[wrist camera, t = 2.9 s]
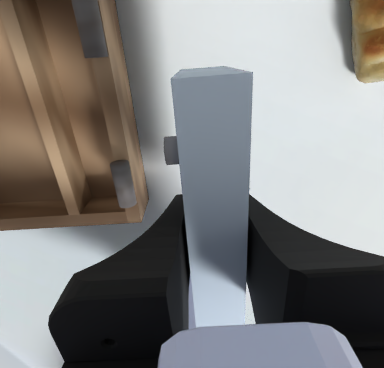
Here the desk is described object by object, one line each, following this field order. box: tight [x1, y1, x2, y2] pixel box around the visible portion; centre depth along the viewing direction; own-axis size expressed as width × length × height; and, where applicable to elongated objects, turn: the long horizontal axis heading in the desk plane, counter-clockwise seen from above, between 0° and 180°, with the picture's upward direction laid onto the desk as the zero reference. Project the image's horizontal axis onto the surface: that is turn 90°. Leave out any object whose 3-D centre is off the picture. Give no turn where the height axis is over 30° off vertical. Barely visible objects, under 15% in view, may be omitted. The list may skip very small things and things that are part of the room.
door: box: [164, 66, 253, 328], centre depth 11 cm, size 12×3×6 cm, turn 4°
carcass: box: [0, 0, 149, 231], centre depth 16 cm, size 16×14×5 cm
